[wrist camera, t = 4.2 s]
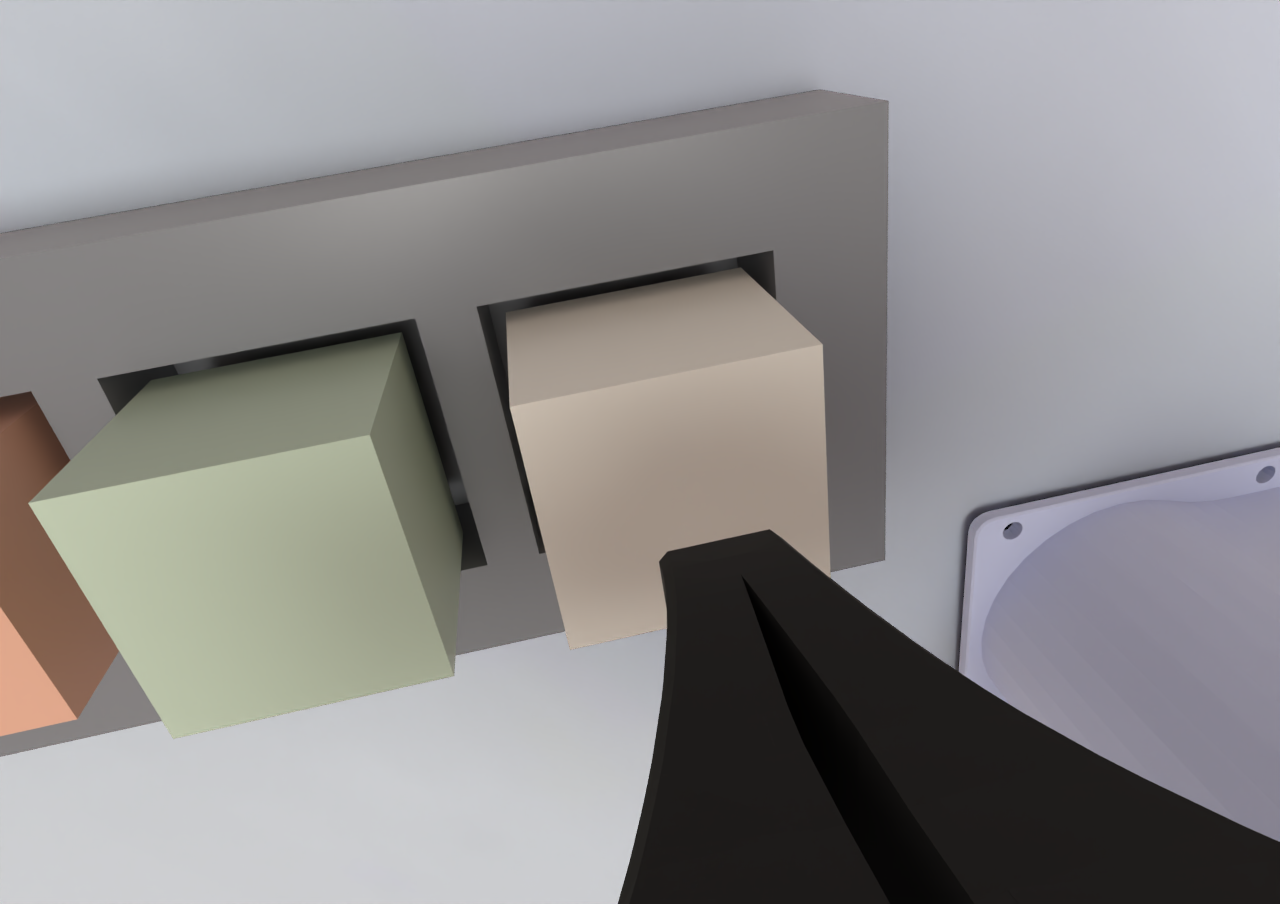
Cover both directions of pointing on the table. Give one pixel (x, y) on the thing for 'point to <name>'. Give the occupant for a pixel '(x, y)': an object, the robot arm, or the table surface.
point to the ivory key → (664, 437)
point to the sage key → (267, 535)
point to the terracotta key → (40, 588)
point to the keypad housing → (473, 305)
